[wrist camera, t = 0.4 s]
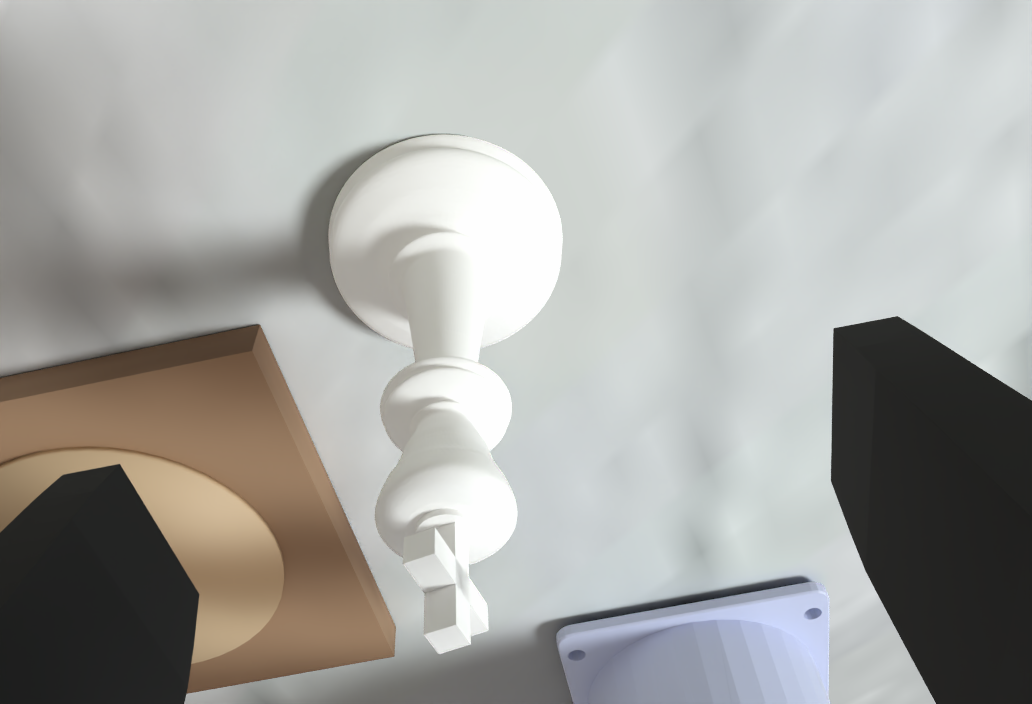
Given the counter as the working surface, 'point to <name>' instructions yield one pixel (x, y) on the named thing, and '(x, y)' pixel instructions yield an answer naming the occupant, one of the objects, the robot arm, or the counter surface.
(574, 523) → the counter surface
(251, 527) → the pedestal
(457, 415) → the chess piece
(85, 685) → the robot arm
